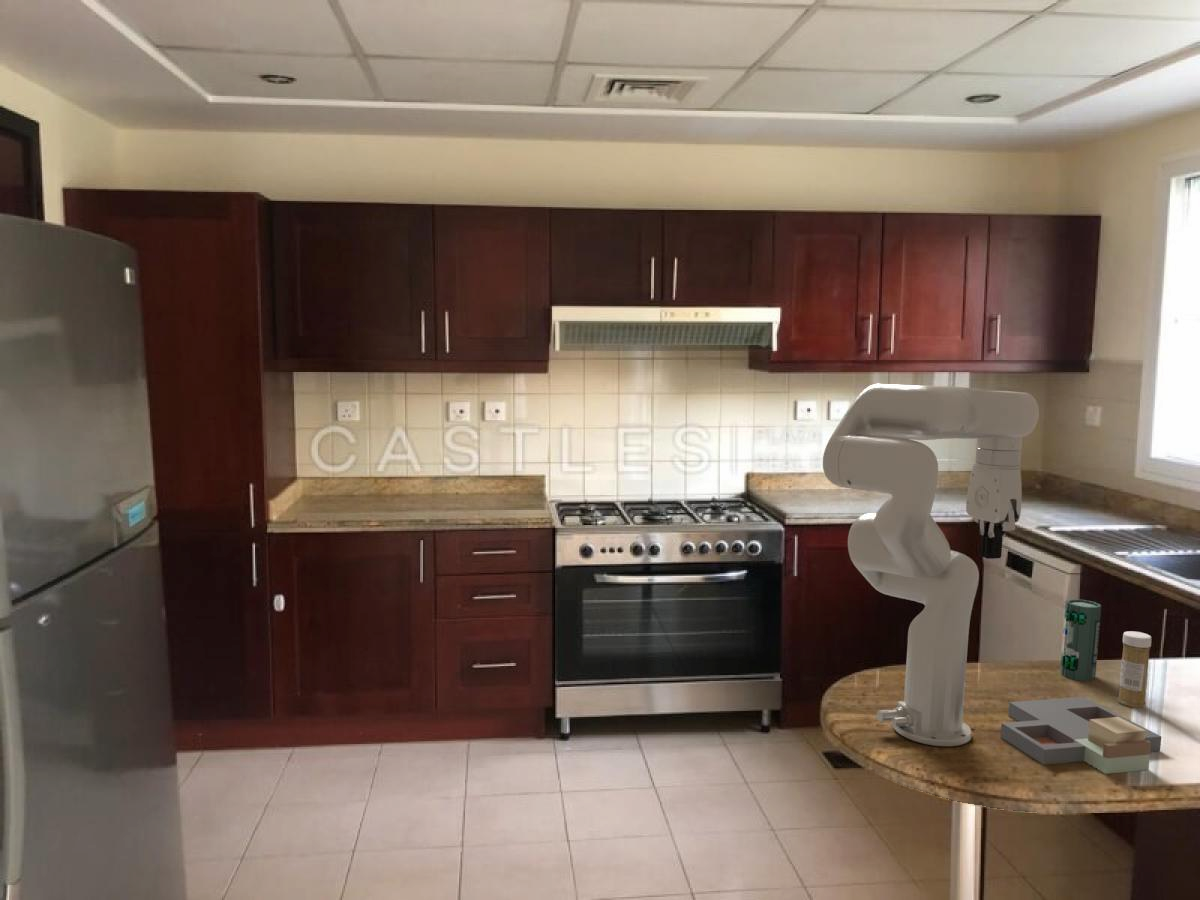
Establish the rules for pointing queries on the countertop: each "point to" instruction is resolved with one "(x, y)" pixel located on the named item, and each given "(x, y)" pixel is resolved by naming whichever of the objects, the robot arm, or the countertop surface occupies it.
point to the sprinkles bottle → (1134, 669)
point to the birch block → (1113, 731)
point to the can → (1080, 639)
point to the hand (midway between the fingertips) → (990, 557)
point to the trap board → (1073, 735)
